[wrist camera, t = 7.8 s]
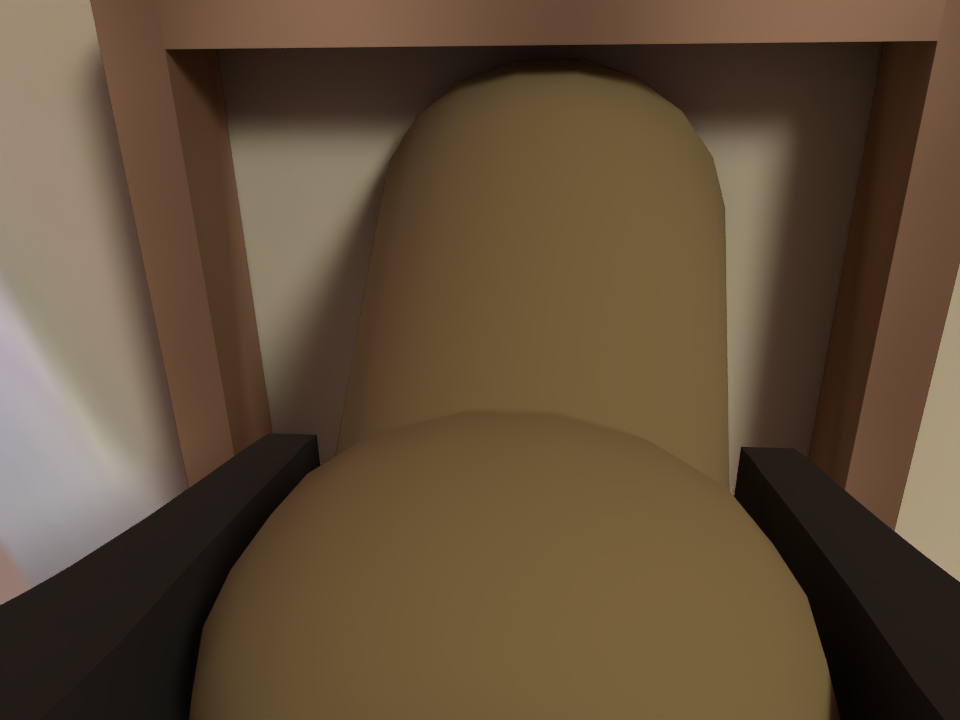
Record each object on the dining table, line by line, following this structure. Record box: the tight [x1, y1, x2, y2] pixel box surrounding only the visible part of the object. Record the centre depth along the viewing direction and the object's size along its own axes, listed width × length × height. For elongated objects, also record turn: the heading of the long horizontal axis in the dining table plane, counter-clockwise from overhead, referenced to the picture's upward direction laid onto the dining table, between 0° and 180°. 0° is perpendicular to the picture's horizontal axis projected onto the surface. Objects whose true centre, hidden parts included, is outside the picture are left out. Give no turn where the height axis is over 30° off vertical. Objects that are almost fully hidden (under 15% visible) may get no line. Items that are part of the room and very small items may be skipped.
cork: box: [189, 59, 841, 720], centre depth 10 cm, size 6×6×11 cm
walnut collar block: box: [90, 0, 960, 531], centre depth 15 cm, size 13×12×2 cm
